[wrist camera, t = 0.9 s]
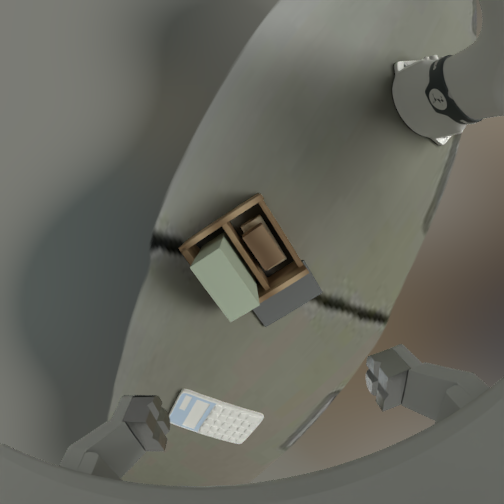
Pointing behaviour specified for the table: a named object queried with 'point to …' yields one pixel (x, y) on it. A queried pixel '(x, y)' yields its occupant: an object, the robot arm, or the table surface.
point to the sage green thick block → (226, 277)
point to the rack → (266, 285)
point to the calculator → (213, 417)
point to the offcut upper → (263, 246)
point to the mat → (288, 299)
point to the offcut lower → (258, 219)
